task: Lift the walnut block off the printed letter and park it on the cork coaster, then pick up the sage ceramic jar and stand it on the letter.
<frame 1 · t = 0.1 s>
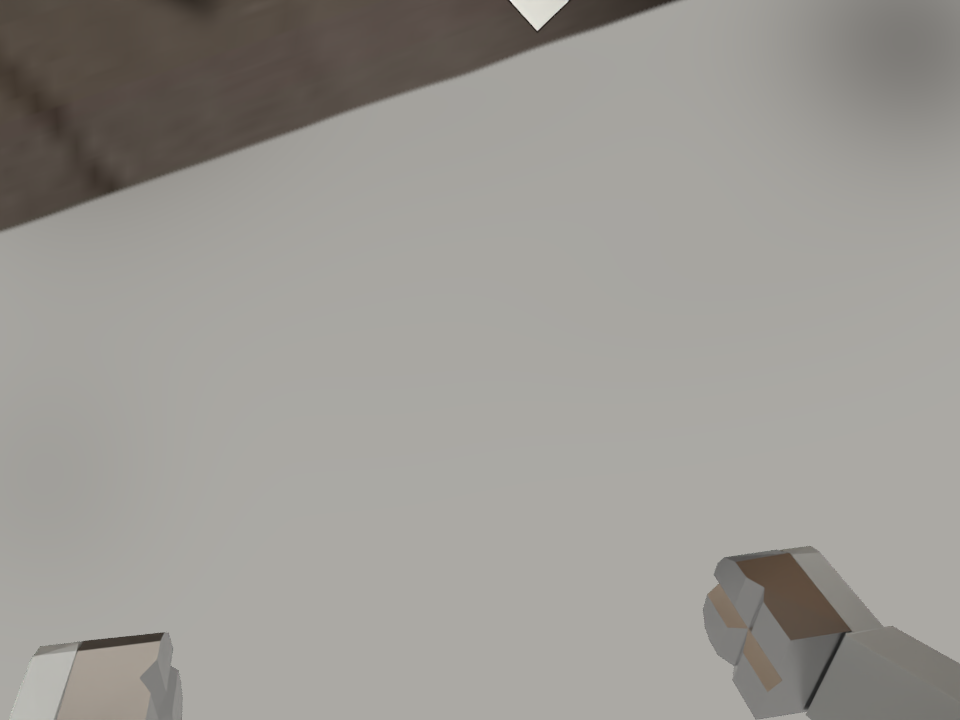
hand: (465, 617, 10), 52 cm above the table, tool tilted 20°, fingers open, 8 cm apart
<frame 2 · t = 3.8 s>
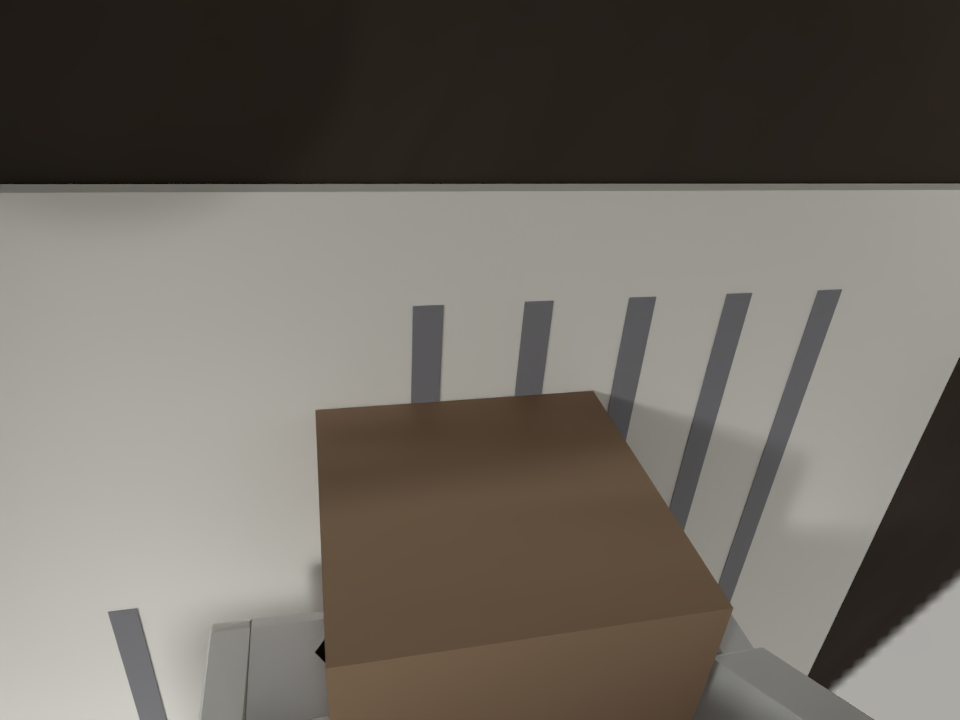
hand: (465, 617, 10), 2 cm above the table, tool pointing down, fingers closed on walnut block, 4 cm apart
letter: (447, 538, 12), on the table
walnut block: (450, 553, 11), resting on letter, touching gripper
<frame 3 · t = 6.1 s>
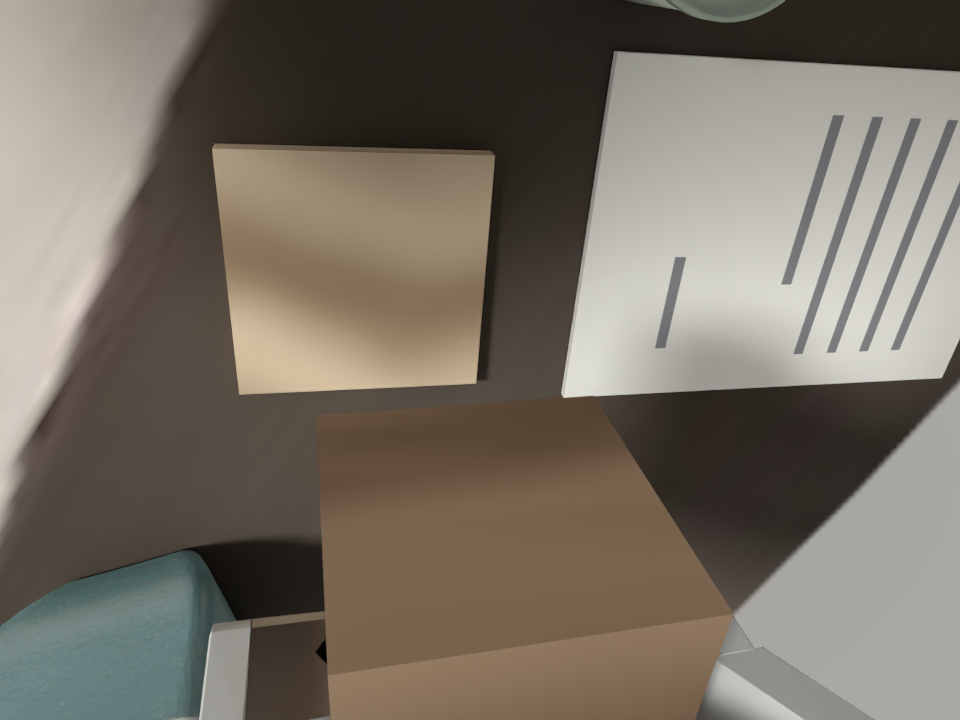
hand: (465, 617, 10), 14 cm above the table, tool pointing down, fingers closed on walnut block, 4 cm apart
coaster: (359, 273, 23), on the table
letter: (805, 242, 26), on the table
flower pot: (159, 599, 28), on the table
walnut block: (451, 557, 12), point 13 cm above the table, touching gripper
when the fingers open (3 cm above the table, at t = 8.4 s): walnut block drops 1 cm, resting on coaster.
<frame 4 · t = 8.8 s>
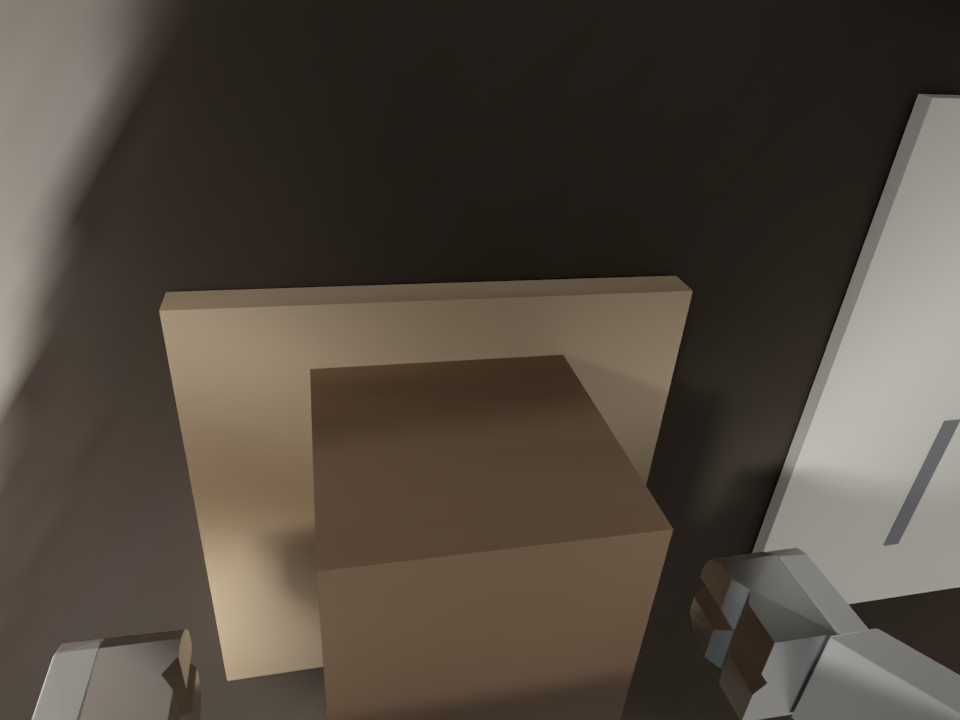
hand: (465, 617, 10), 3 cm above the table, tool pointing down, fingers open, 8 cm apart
coaster: (433, 481, 13), on the table
walnut block: (435, 506, 13), point 1 cm above the table, touching coaster
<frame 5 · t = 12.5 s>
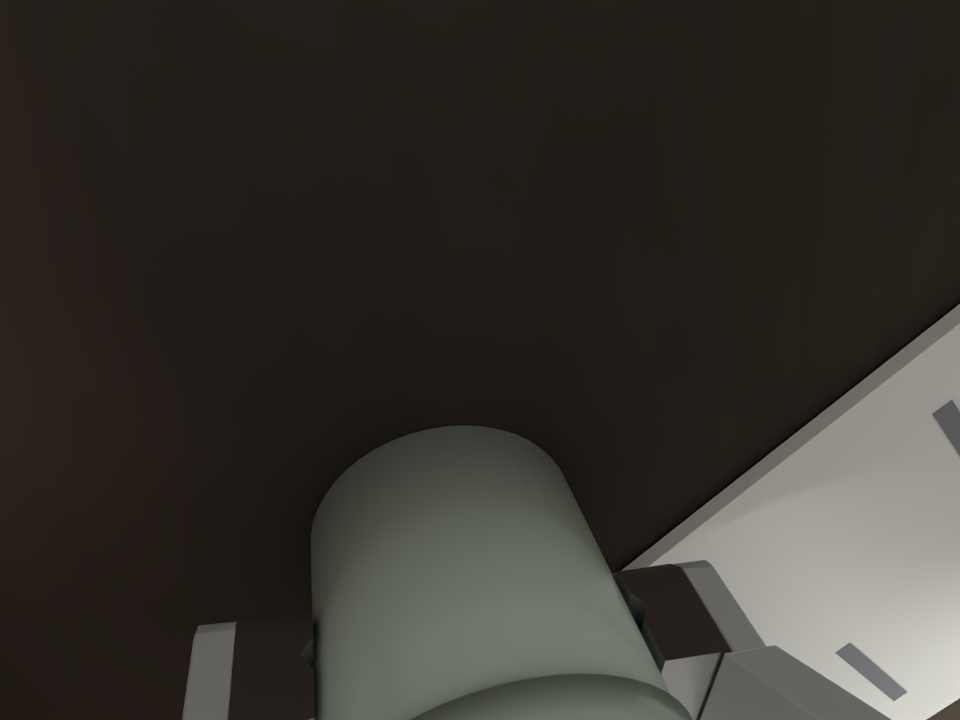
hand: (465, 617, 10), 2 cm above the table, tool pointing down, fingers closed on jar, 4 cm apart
jar: (445, 532, 12), on the table, touching gripper
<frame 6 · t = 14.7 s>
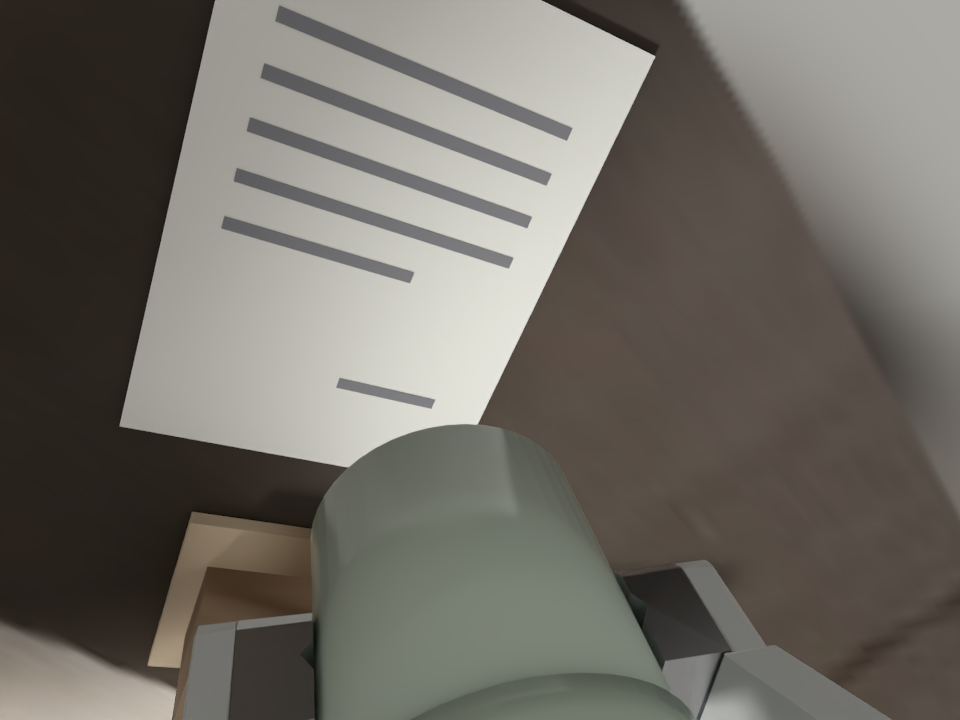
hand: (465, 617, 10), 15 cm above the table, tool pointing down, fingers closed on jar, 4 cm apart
coaster: (271, 597, 29), on the table
letter: (372, 247, 23), on the table
jar: (445, 531, 12), point 13 cm above the table, touching gripper
walnut block: (272, 609, 29), point 1 cm above the table, touching coaster
when the fingers open (3 cm above the table, at t = 17.0 s): jar drops 1 cm, resting on letter.
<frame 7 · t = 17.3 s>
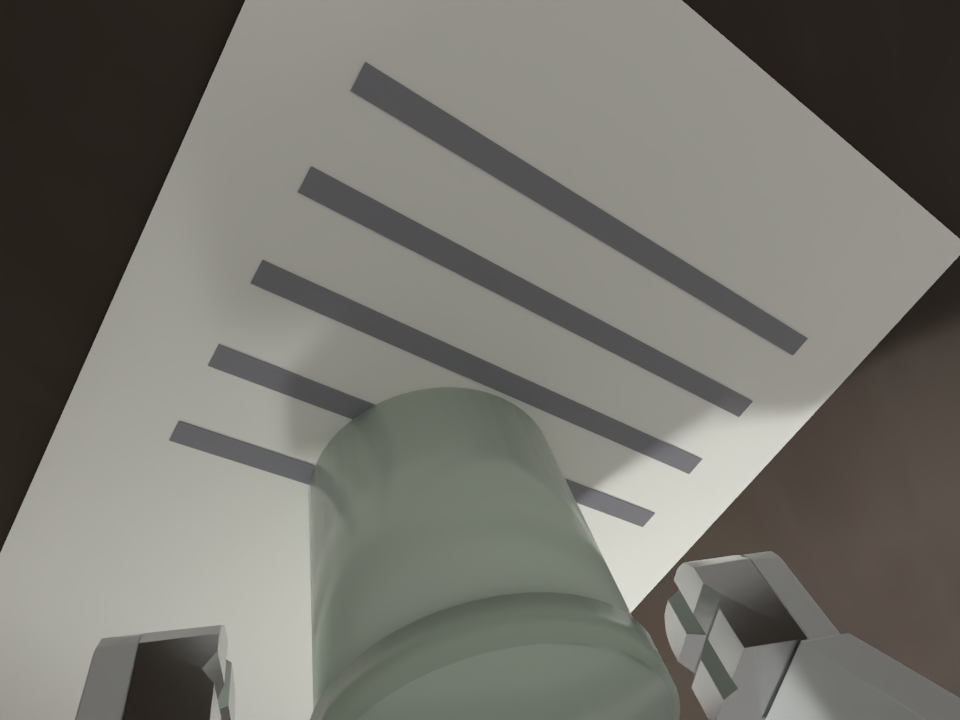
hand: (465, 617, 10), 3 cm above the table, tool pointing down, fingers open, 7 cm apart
letter: (433, 480, 13), on the table
jar: (434, 490, 13), resting on letter
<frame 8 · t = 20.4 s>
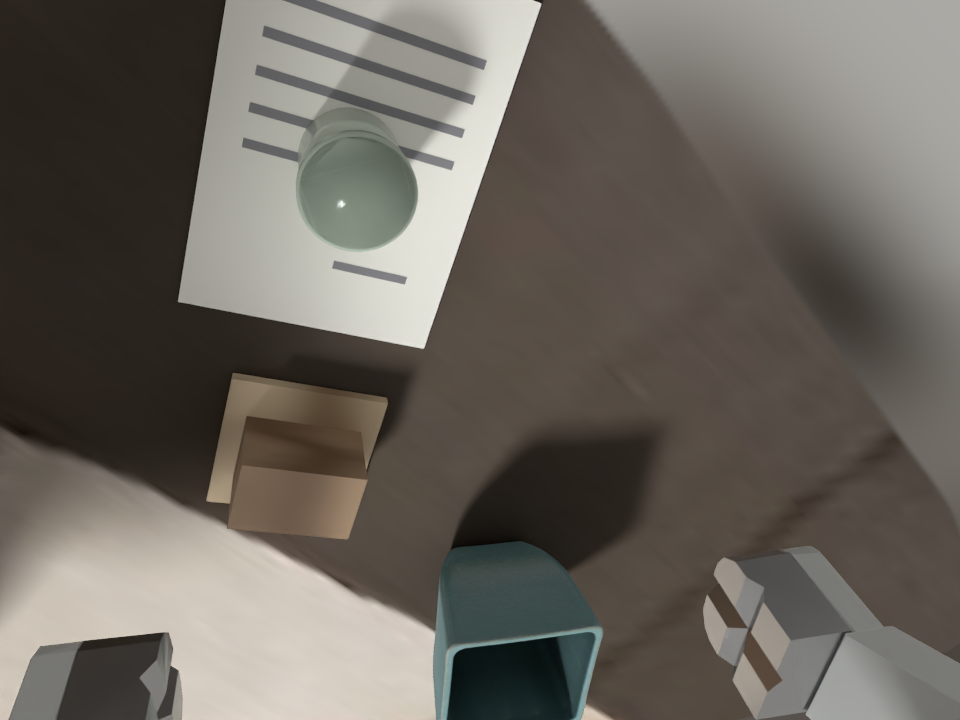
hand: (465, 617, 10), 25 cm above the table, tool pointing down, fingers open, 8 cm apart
coaster: (296, 446, 39), on the table
letter: (350, 158, 31), on the table
jar: (349, 159, 31), resting on letter
flower pot: (483, 566, 47), on the table
walnut block: (297, 453, 38), point 1 cm above the table, touching coaster
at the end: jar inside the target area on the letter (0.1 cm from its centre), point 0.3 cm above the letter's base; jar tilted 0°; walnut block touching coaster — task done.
